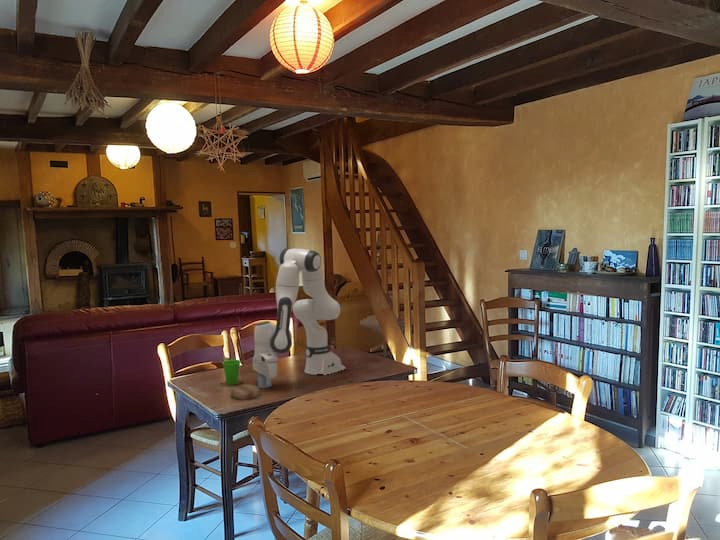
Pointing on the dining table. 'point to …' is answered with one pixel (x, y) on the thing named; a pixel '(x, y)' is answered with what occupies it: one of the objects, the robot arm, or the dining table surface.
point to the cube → (263, 381)
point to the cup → (231, 371)
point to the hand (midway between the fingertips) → (264, 382)
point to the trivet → (245, 392)
